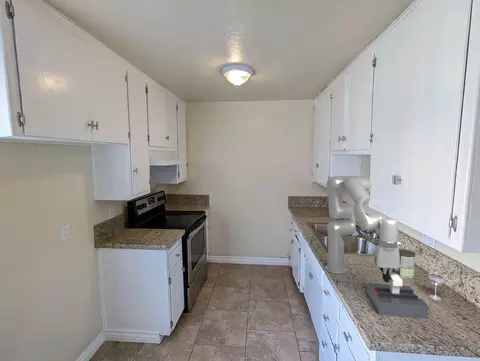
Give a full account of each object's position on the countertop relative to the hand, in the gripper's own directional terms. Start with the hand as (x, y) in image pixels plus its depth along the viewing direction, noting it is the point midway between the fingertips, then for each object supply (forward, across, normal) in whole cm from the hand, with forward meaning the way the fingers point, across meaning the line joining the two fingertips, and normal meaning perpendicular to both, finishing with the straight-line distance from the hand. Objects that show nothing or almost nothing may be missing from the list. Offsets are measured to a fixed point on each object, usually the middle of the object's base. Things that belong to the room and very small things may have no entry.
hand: (386, 280), depth 127 cm
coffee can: (+12, -23, -37) cm, 46 cm away
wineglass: (+12, -27, -11) cm, 32 cm away
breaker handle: (+6, -4, 0) cm, 7 cm away
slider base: (+12, -4, 0) cm, 13 cm away
